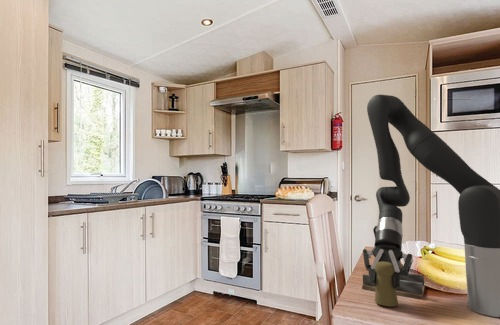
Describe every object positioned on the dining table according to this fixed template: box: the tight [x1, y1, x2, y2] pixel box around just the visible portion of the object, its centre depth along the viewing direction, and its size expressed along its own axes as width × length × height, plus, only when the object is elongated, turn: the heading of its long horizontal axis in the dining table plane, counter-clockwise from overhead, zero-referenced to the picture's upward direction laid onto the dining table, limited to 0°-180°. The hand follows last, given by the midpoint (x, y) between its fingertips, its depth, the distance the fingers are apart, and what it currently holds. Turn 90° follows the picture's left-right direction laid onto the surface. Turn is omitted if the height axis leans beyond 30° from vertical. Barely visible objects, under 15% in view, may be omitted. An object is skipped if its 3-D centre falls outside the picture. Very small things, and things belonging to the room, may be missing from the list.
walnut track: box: [361, 271, 426, 300], centre depth 98 cm, size 17×13×4 cm
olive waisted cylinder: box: [374, 262, 399, 307], centre depth 85 cm, size 6×6×11 cm
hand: (384, 285), depth 83 cm, fingers closed on olive waisted cylinder, 5 cm apart
